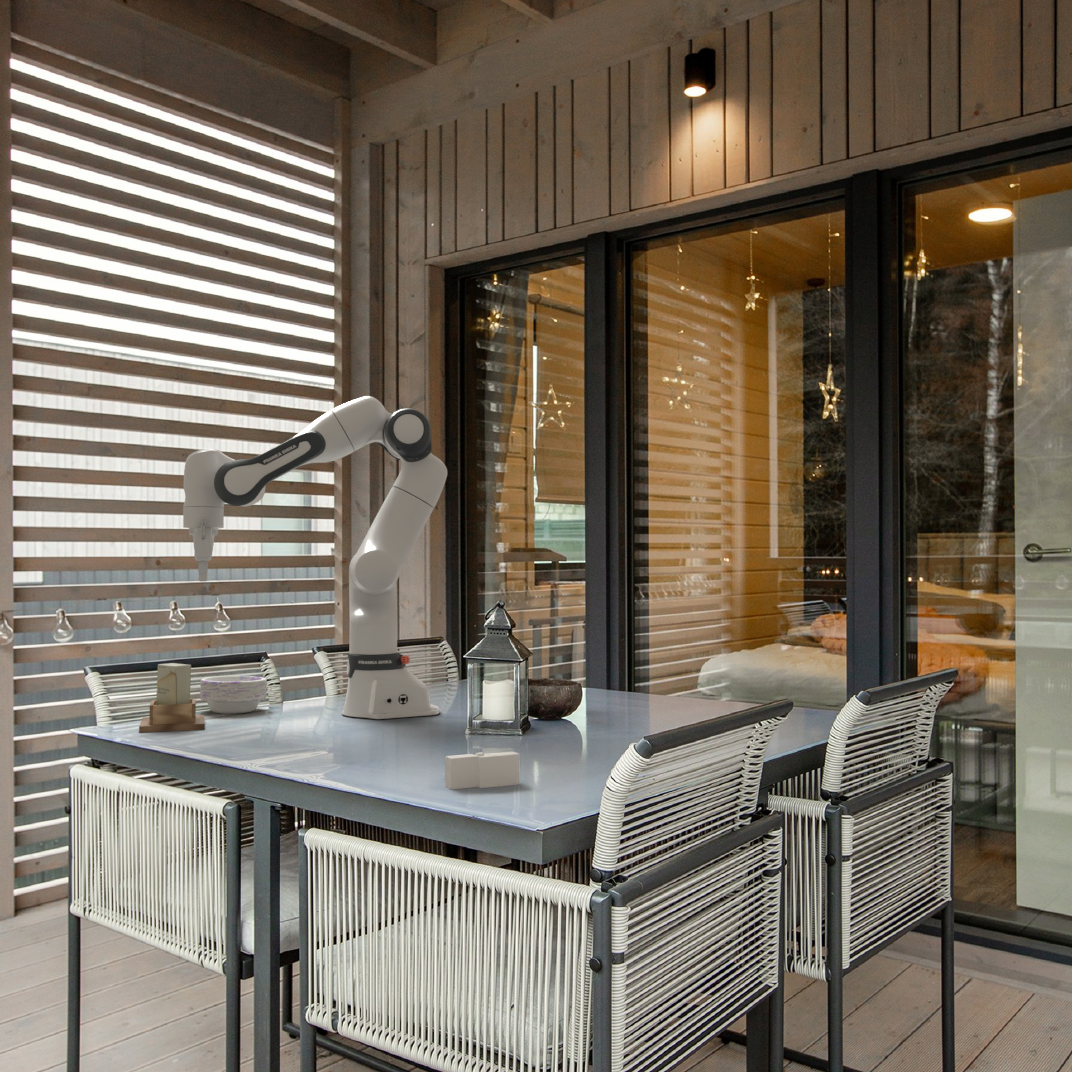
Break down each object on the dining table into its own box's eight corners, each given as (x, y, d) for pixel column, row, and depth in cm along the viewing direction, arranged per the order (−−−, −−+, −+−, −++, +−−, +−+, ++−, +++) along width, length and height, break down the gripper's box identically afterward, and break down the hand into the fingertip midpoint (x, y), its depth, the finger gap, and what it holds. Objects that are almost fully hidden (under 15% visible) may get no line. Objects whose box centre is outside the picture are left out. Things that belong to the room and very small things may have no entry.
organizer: (204, 720, 237) (204, 696, 237) (204, 729, 224) (204, 704, 224) (142, 722, 233) (143, 699, 233) (139, 732, 220) (139, 707, 220)
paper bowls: (276, 707, 257) (276, 674, 257) (251, 717, 242) (251, 682, 242) (217, 706, 259) (217, 673, 259) (188, 715, 244) (188, 681, 244)
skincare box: (155, 720, 228) (155, 664, 229) (172, 717, 232) (172, 662, 232) (174, 723, 225) (175, 665, 225) (191, 720, 229) (191, 664, 229)
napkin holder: (532, 782, 174) (532, 747, 174) (516, 798, 163) (516, 760, 163) (444, 778, 177) (444, 744, 177) (423, 793, 166) (423, 756, 166)
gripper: (218, 519, 233) (217, 581, 232) (217, 521, 252) (217, 579, 252) (188, 518, 231) (187, 582, 230) (189, 521, 250) (189, 580, 250)
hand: (203, 580), depth 241 cm, fingers open, 8 cm apart
